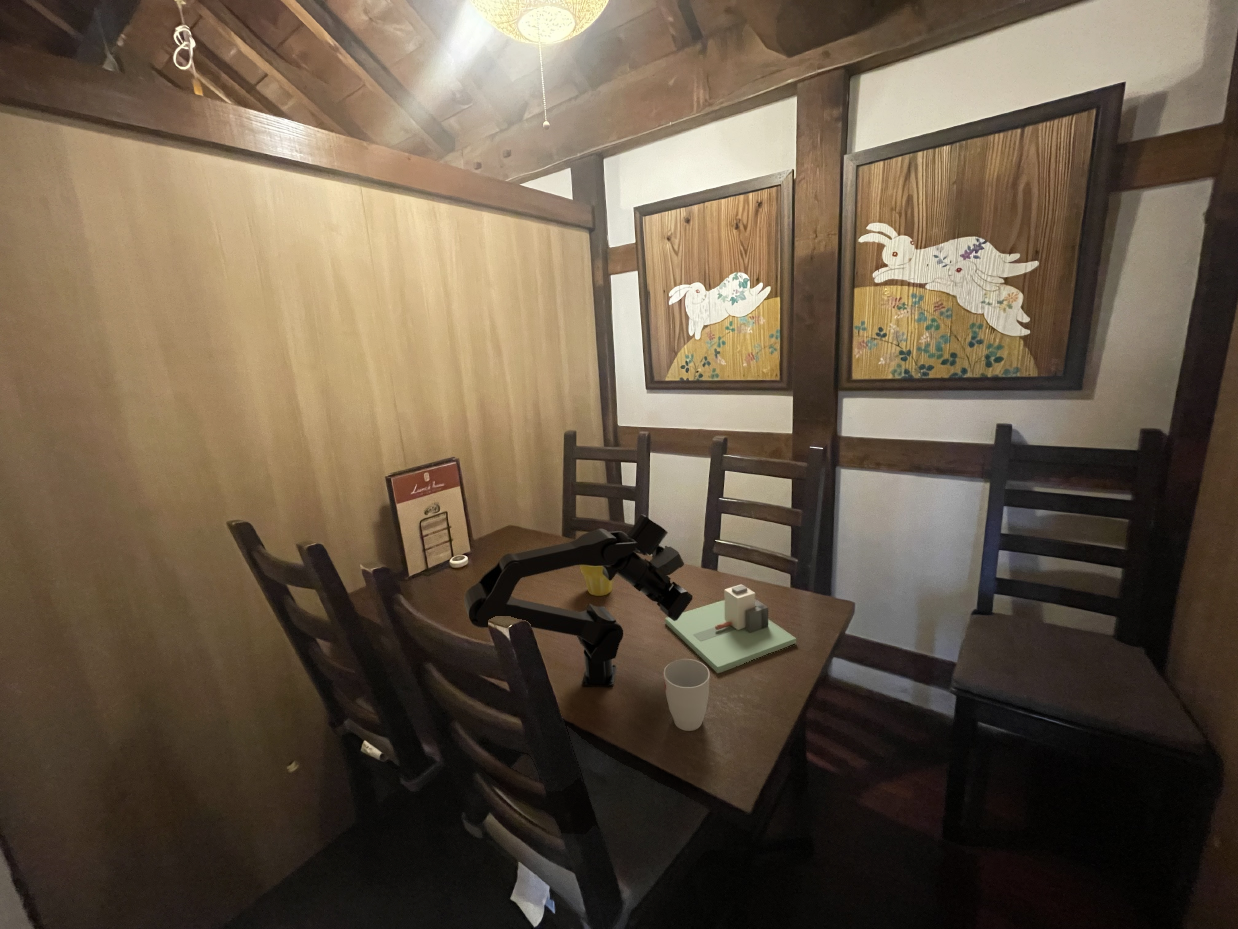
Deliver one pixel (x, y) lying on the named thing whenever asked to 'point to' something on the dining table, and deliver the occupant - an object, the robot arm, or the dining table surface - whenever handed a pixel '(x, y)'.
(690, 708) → the cup
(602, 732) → the dining table surface
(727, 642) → the board
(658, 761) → the dining table surface
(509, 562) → the robot arm
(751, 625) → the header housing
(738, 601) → the plug
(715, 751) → the dining table surface
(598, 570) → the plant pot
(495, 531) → the dining table surface
